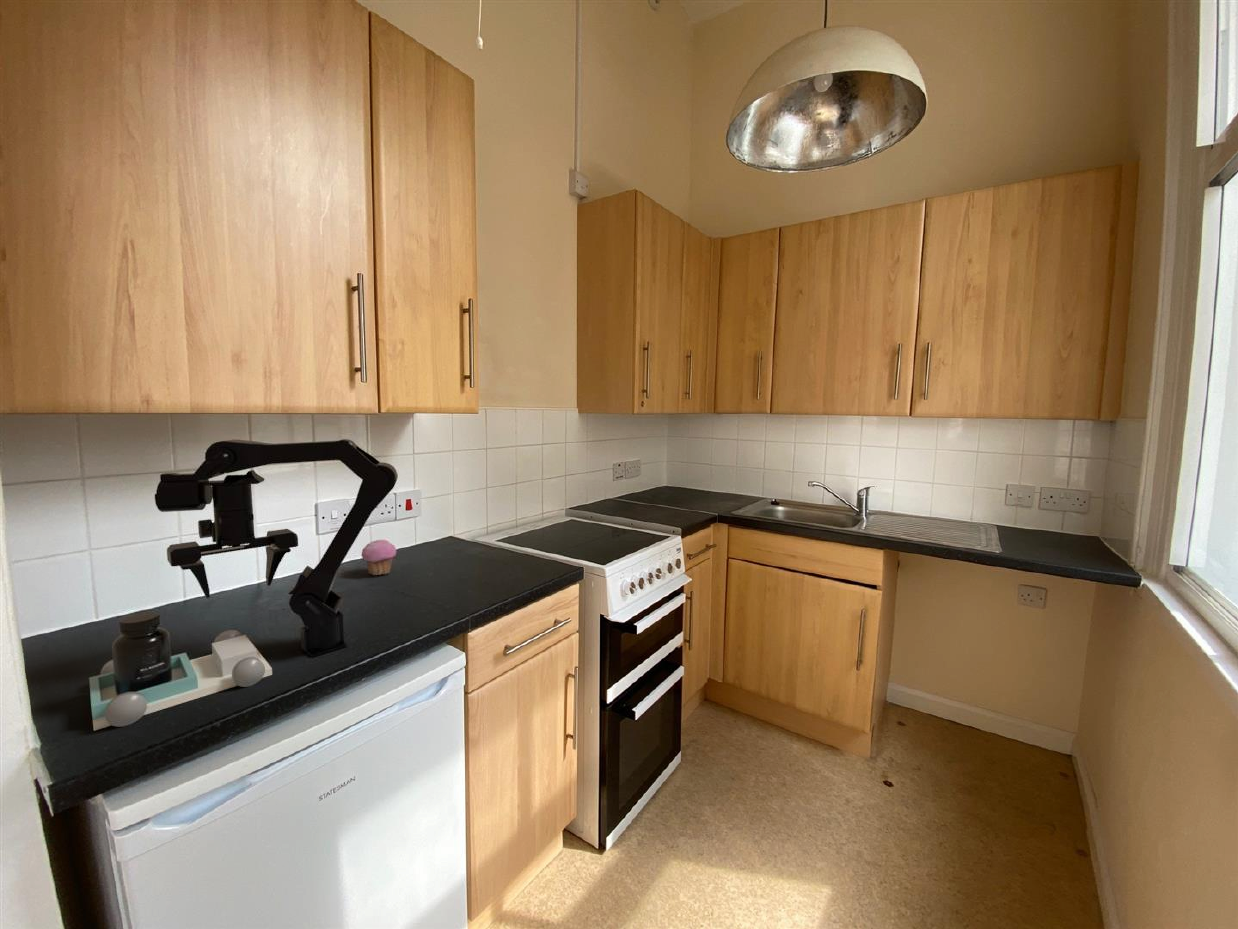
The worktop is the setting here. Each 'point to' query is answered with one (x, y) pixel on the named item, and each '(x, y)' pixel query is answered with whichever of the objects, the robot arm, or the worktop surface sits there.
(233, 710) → the worktop surface
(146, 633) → the supplement bottle
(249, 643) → the chassis
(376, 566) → the cupcake
